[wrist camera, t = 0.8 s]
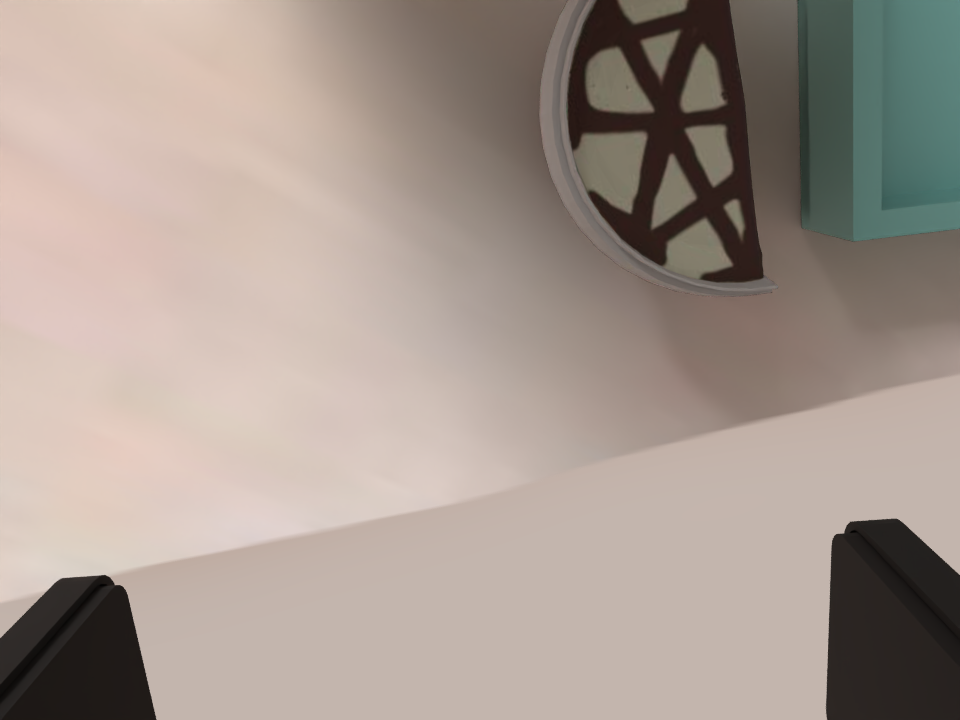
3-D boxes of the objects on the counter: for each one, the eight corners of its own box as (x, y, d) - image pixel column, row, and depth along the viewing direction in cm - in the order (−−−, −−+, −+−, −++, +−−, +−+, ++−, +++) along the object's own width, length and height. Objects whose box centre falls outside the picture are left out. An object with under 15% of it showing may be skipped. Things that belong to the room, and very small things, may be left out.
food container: (500, -11, 31) (504, -81, 22) (654, -47, 31) (727, -135, 21) (558, 289, 34) (584, 345, 25) (698, 260, 34) (780, 304, 24)
